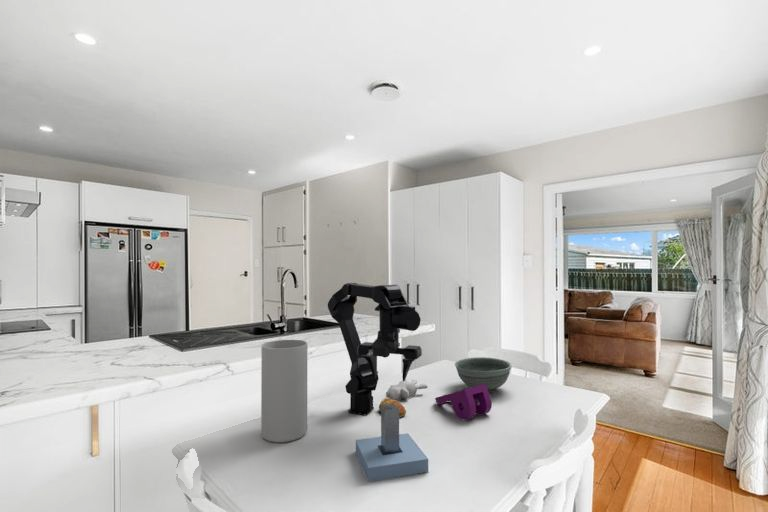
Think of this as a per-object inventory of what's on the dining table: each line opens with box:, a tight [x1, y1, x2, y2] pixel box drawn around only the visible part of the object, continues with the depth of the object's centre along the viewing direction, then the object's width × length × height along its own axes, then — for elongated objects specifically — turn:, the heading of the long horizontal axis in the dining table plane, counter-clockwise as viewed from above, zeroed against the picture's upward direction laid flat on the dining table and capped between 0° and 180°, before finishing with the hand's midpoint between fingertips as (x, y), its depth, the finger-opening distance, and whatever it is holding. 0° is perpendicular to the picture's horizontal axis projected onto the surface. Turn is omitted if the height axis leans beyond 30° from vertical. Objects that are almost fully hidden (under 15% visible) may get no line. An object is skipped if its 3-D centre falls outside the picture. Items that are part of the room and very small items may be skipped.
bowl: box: [454, 356, 512, 394], centre depth 147 cm, size 21×21×10 cm
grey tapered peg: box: [380, 404, 400, 455], centre depth 94 cm, size 4×4×13 cm
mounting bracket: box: [434, 384, 493, 421], centre depth 126 cm, size 9×8×18 cm
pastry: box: [378, 397, 407, 418], centre depth 124 cm, size 9×7×4 cm
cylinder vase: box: [260, 339, 308, 444], centre depth 109 cm, size 12×12×25 cm
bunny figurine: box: [385, 379, 428, 401], centre depth 140 cm, size 10×5×15 cm
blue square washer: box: [355, 432, 429, 483], centre depth 94 cm, size 14×14×3 cm
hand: (389, 379), depth 116 cm, fingers open, 9 cm apart
